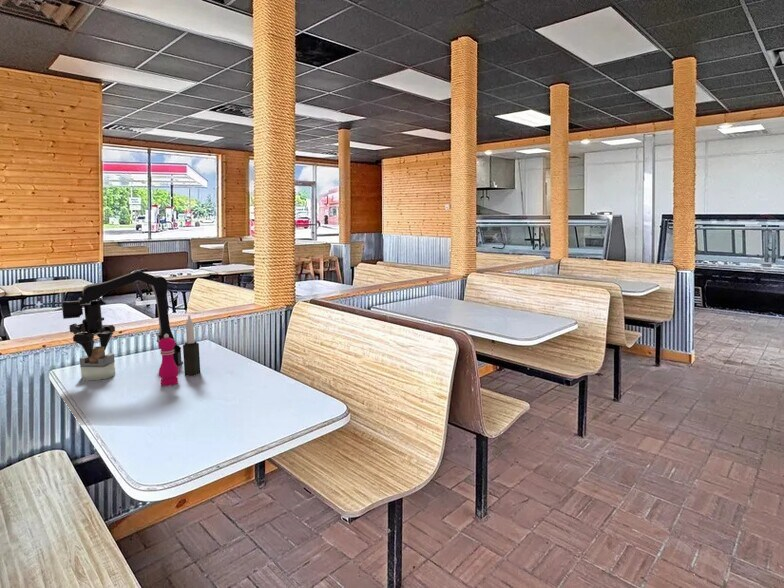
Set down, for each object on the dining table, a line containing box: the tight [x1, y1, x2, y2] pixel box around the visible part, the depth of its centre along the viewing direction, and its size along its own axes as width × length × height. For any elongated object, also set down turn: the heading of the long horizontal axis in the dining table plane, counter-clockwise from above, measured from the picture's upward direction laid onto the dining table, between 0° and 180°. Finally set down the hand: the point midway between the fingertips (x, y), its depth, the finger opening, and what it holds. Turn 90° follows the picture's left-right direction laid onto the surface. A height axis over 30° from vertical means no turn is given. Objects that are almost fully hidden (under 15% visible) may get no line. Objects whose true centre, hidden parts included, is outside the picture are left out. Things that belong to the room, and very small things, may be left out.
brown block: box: [89, 345, 106, 363], centre depth 205 cm, size 4×4×7 cm
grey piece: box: [80, 362, 116, 381], centre depth 206 cm, size 12×12×5 cm
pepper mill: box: [157, 334, 180, 387], centre depth 197 cm, size 7×7×20 cm
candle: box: [182, 315, 201, 377], centre depth 208 cm, size 5×5×25 cm
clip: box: [79, 353, 116, 368], centre depth 205 cm, size 10×8×4 cm
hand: (96, 353), depth 205 cm, fingers open, 9 cm apart
